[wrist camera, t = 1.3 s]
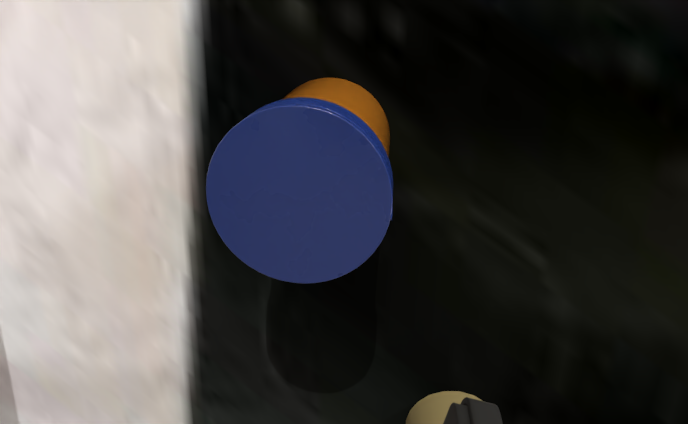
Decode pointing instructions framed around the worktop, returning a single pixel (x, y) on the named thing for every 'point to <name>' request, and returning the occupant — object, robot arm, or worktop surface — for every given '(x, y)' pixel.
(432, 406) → the cork
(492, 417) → the robot arm
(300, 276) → the lid
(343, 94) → the jar
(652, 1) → the worktop surface
